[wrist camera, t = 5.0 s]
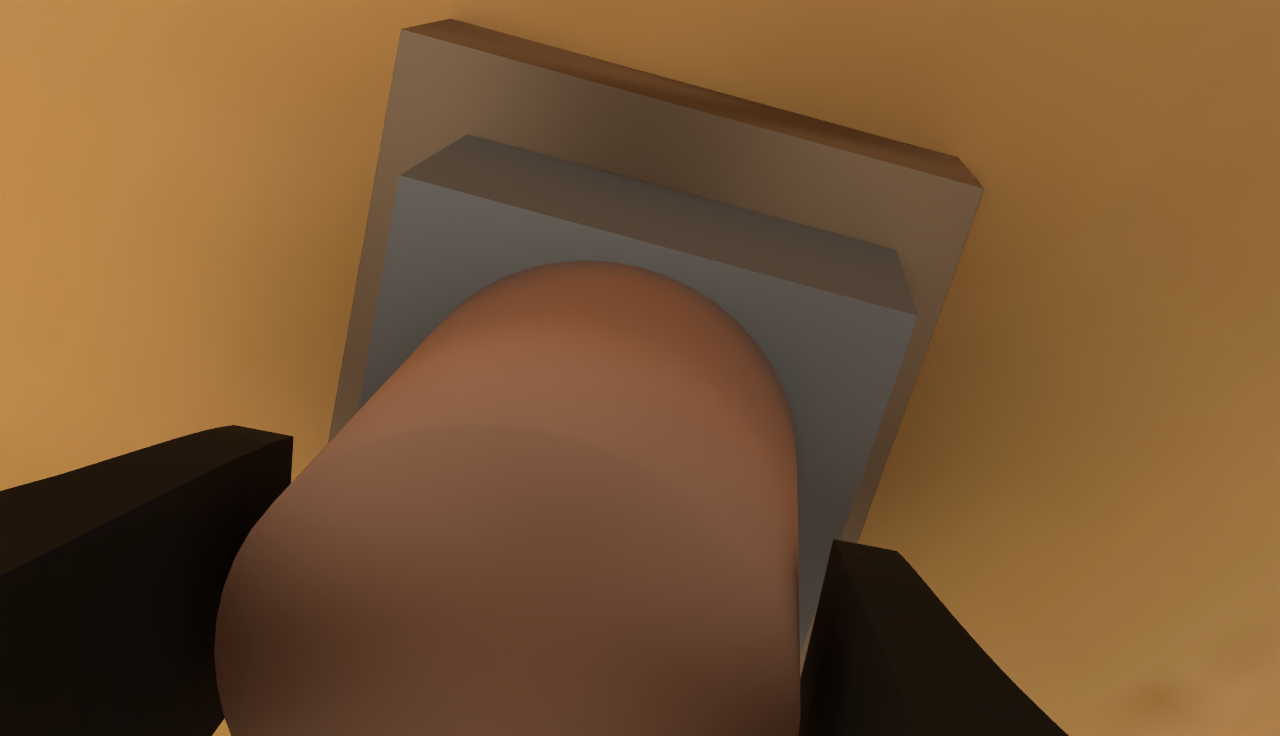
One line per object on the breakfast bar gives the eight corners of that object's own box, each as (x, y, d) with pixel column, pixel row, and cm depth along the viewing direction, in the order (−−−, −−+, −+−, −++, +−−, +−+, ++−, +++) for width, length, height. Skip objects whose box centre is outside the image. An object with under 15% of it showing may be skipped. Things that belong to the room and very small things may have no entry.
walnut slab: (953, 152, 19) (984, 188, 16) (802, 587, 21) (806, 684, 19) (458, 17, 19) (400, 29, 16) (372, 466, 22) (310, 544, 19)
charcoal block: (896, 249, 16) (917, 315, 13) (772, 620, 18) (768, 745, 15) (466, 134, 16) (399, 174, 13) (394, 514, 18) (322, 618, 16)
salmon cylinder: (827, 289, 13) (847, 474, 9) (765, 657, 15) (755, 978, 10) (407, 233, 14) (210, 381, 9) (392, 597, 15) (218, 882, 11)
